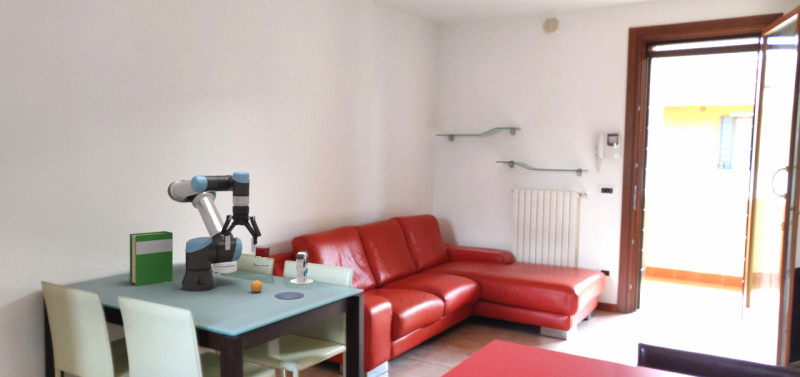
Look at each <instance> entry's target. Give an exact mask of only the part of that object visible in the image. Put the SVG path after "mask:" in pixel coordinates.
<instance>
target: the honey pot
mask: <svg viewBox="0 0 800 377" xmlns="http://www.w3.org/2000/svg"><path fill="white" fill-rule="evenodd" d="M237 270H238V260H237V261H234V262H225V263H216V264H212V271H213V272H212V273H215V272H218V273H217V274H229V273H235V272H237Z"/></svg>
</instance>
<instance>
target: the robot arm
mask: <svg viewBox="0 0 800 377" xmlns="http://www.w3.org/2000/svg"><path fill="white" fill-rule="evenodd" d="M250 182H251V180H250V173H249V172H247V171H234V172H232V174H226V175H225V174H223V175H221V174H220V175H201V174H199V175H194V176H192V178H190V179H185V180H183V179H182V180H175V181H173V182H171V183H170V184H169V185H168V187H167V190H166V192H167V195H168V197H169V198H170V199H171V200H172V201H173V202H174V201H175V202H177V203H184V204H185V203H187V204H189V203H191V205H192V206H193V208H195V209H197V211H198V213H199V215H200V217H201V220H202V221H203V224H204V226H205V229H206V230H207V233H208V236H199V237H195V238H191V239H188V240H187V241H186V243H185V249H184V252H185V272H184V275H183V278H182V281H181V286H180V287H181V290H184V291H191V292H198V291H207V290H212V289H214V288H216V280H215V277H214V274H213V272H212V264H216V263H225V262H234V261H237V262H238V261H239V260H240V259H241V257H242V254H243V242H242V239H241V238H240V237H235V236H234V235H233V232H232V231H233V230H234V228H235V227H236V226H241V227H245V228H246V230H247V231H248V232H249V233H250V236H252V237H251V239H250V240H251V241H250V242H251V244H250V247H251V248H250V249H251V250H250V253H256V246H257V245H258V238H259V237H261V236H262V233H261V231H260V228H259V225H258V223H257V221H256V216H255V215H252V216H250V206H249V205H250ZM217 192H232V209H231V210H232V214H226V218H225V221H224V220H223V219H222V217H221V214H220V212H219V211H218V208H217V206H216V204H215V200H216V197H217ZM232 220H233V221H232ZM231 221H232V222H231ZM230 223H231V224H230Z"/></svg>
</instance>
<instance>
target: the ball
mask: <svg viewBox="0 0 800 377" xmlns="http://www.w3.org/2000/svg"><path fill="white" fill-rule="evenodd" d="M263 287H264V285H263V283H262V281H260V280H257V279H255V280H253V281H251V283H250V290H251V291H252V292H253V293H260V292H261V291H262V290H263Z"/></svg>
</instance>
